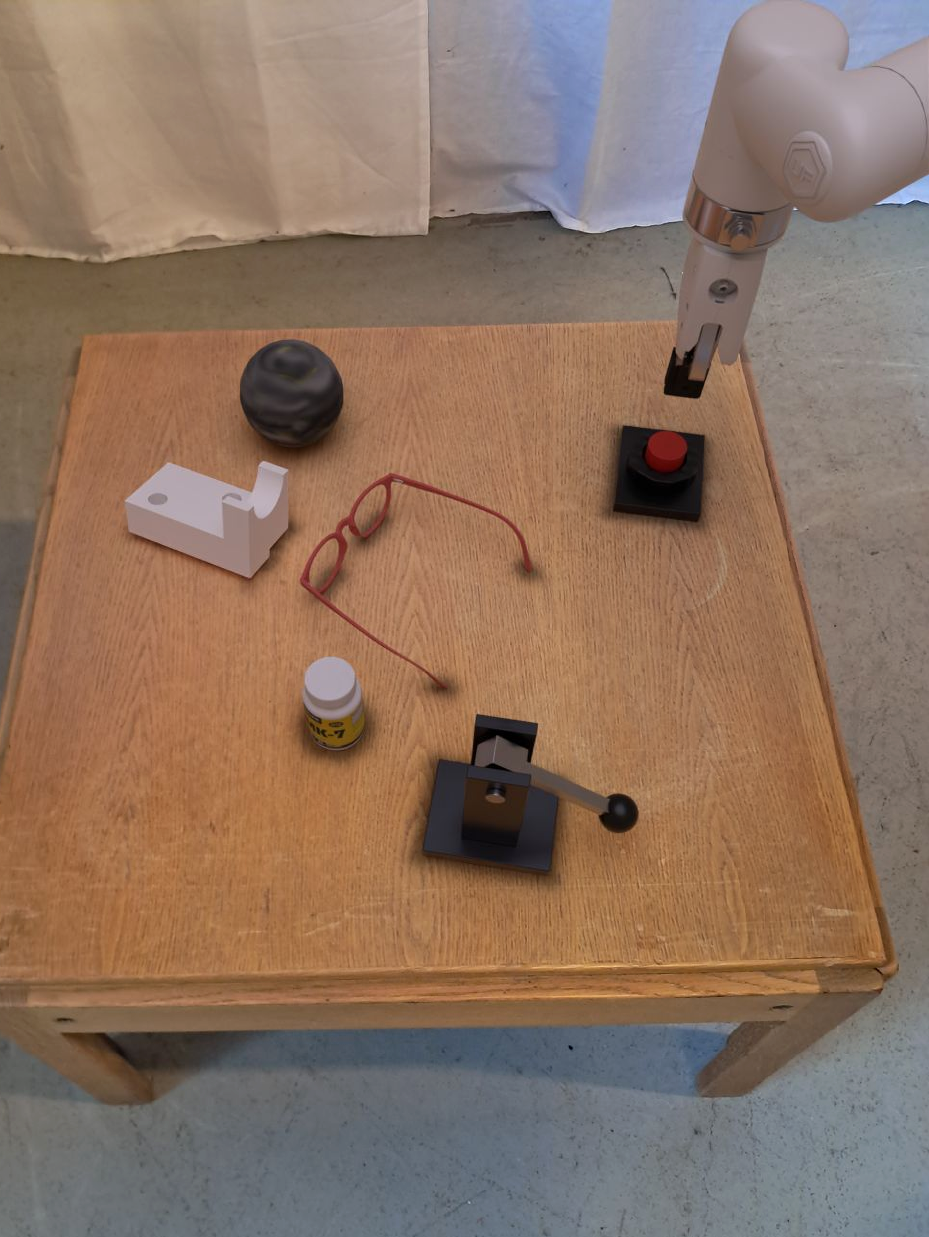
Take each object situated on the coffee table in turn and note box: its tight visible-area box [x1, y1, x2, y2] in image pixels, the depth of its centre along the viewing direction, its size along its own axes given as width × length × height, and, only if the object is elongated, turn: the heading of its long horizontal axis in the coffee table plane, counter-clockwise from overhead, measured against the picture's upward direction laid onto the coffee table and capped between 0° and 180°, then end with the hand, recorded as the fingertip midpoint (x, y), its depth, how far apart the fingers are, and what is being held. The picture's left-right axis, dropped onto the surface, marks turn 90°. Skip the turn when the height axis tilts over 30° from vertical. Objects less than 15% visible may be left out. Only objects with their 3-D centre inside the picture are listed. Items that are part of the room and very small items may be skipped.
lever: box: [474, 735, 640, 834], centre depth 74 cm, size 14×3×3 cm
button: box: [645, 430, 687, 472], centre depth 96 cm, size 4×4×2 cm
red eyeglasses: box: [299, 472, 533, 689], centre depth 90 cm, size 17×16×5 cm
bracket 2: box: [421, 713, 560, 877], centre depth 76 cm, size 10×8×13 cm
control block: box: [612, 424, 706, 523], centre depth 97 cm, size 10×8×3 cm
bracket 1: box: [124, 460, 290, 579], centre depth 93 cm, size 13×7×8 cm, turn 65°
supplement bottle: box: [301, 656, 366, 751], centre depth 82 cm, size 5×5×8 cm
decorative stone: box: [239, 338, 344, 448], centre depth 98 cm, size 10×10×10 cm
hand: (681, 390), depth 89 cm, fingers closed
